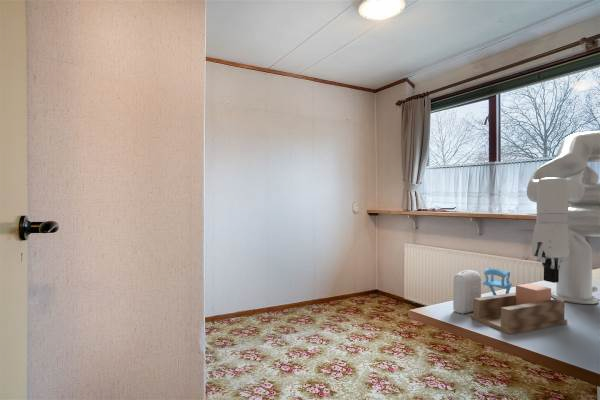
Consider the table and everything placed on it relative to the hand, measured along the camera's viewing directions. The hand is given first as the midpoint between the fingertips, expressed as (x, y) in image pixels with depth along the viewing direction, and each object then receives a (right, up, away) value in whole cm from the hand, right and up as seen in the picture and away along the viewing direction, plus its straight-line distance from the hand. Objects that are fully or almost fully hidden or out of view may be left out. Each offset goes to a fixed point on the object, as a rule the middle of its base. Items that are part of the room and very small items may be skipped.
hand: (551, 281), depth 99 cm
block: (-7, -9, -2) cm, 12 cm away
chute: (-13, -10, -4) cm, 17 cm away
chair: (-10, -10, +11) cm, 18 cm away
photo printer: (-22, -10, +5) cm, 25 cm away
